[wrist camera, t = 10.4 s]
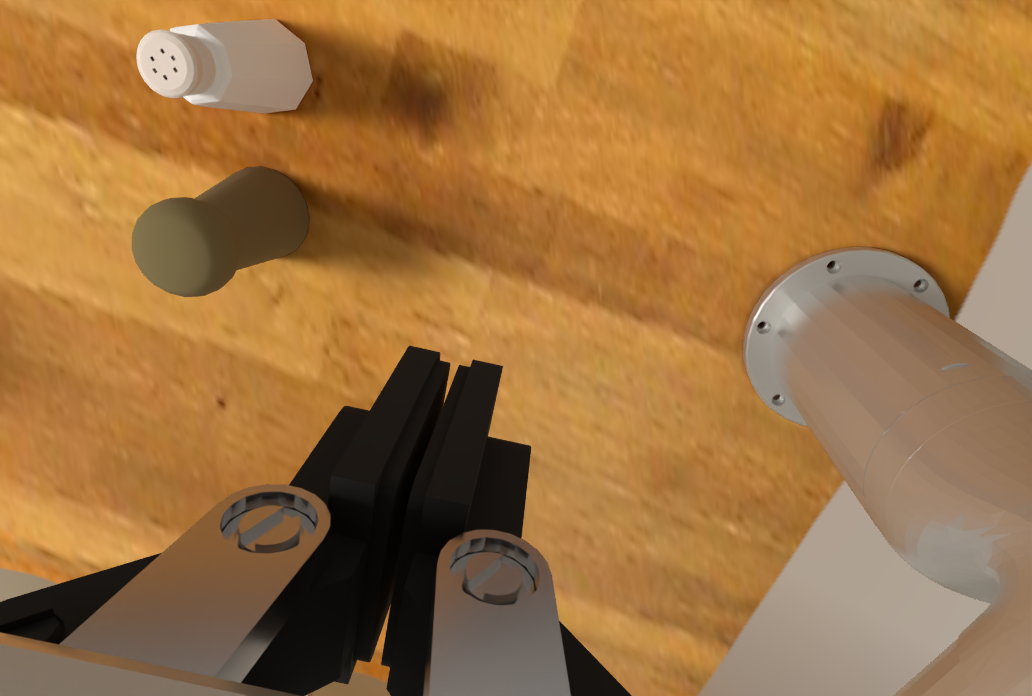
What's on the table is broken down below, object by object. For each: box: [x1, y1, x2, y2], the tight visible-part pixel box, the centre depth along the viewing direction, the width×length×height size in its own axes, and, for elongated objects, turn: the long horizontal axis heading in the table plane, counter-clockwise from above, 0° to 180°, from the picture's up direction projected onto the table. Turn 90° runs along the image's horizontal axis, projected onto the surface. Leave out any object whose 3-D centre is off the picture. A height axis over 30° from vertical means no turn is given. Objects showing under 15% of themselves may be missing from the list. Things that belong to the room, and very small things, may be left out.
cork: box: [132, 166, 309, 297], centre depth 37 cm, size 6×6×11 cm
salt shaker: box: [137, 19, 313, 113], centre depth 33 cm, size 5×5×11 cm
